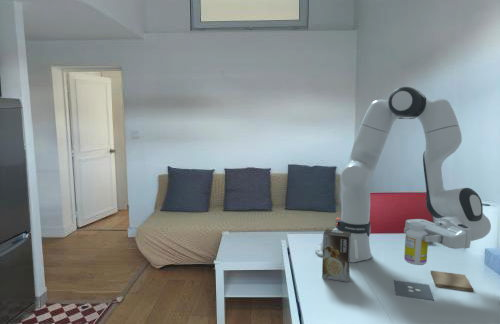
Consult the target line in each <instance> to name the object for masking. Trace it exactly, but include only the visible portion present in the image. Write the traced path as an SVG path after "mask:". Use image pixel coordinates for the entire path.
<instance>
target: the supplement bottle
mask: <svg viewBox="0 0 500 324" xmlns="http://www.w3.org/2000/svg"><path fill="white" fill-rule="evenodd" d="M409 226H410V229H409V230H407V231H406V233H405V240H404V256H403V259H404V261H405V262H406V263H408V264H411V265H414V266H424V265H426V264H427V260H428V247H429V242H425V241H423V235H428V233H427V232H425V230H424V229H425V227H426V225H425V224H424V223H422V222H410V225H409Z"/></svg>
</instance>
